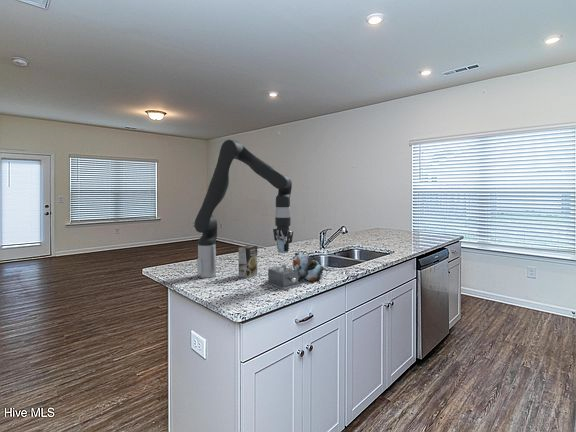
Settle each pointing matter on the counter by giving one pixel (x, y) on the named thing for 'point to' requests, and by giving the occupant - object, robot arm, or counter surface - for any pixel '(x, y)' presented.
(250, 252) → the coffee box
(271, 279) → the motor
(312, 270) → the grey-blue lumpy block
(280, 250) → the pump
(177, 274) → the counter surface
